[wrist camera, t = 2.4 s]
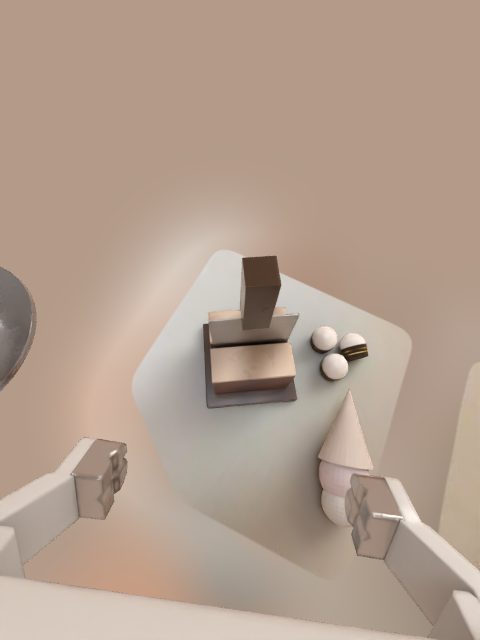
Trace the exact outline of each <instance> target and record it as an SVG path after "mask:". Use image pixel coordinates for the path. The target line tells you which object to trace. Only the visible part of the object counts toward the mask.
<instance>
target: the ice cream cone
mask: <svg viewBox="0 0 480 640" xmlns="http://www.w3.org/2000/svg"><path fill="white" fill-rule="evenodd" d="M318 458H320V459H322V461H321V464H320V467H319V478H320V482H321V485H322V487H323V492H322V496H321V502H322V507H323V510H324V512H325V514H326V515H327V517H328V518H329V519H330V520H331V521H332V522H334V523H335V524H337V525H339V526H343V527H349V526H352V525H351V524H350V523H349V522H348V521H347V517H346V513H345V495H346V492H347V490H348V489H350V488H351V484H350V479H351V476H352V475H353V473H356V474H364V475H369V471H368V469H373V466H372V462H371V459H370V456H369V452H368V449H367V446H366V442H365V439H364V436H363V433H362V429H361V426H360V423H359V419H358V416H357V413H356V409H355V406H354V403H353V399H352V396H351V393H350V389H349V390H348V393H347V395H346V397H345V399H344V401H343V403H342V406H341V408H340V410H339V412H338V414H337V416H336V418H335V421H334V423H333V425H332V427H331V429H330V431H329V434H328V436H327V438H326V440H325V442H324V444H323V446H322V449H321V451H320V453H319V455H318Z"/></svg>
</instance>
